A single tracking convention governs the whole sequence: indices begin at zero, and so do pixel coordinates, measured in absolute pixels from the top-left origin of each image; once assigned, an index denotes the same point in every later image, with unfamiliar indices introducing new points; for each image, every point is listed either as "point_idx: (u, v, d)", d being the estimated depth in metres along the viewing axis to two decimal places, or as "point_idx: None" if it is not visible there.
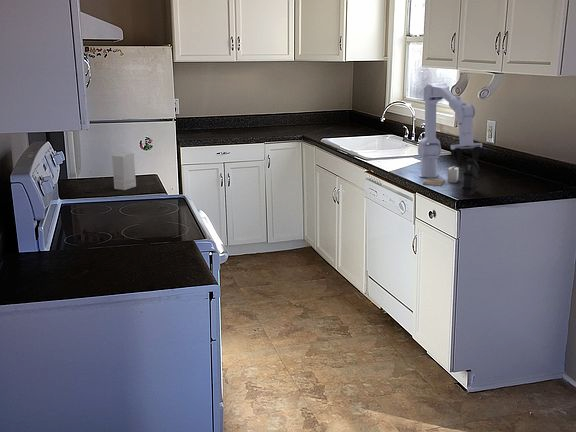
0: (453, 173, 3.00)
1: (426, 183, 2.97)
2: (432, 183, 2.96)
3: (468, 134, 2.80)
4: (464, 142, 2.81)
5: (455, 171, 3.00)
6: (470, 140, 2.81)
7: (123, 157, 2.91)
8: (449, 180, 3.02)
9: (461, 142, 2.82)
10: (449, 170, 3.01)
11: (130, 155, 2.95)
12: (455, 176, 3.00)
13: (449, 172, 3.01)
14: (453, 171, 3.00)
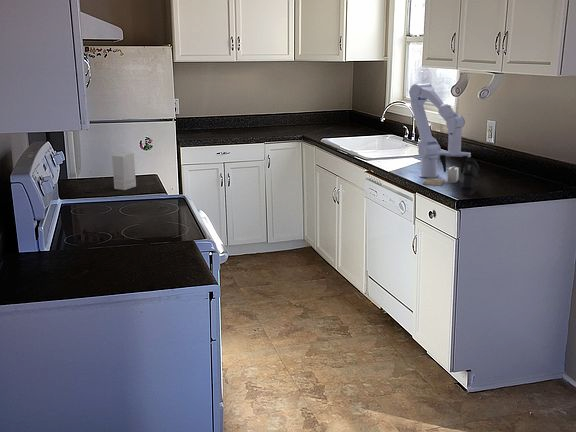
0: (453, 173, 3.00)
1: (426, 183, 2.97)
2: (432, 183, 2.96)
3: (452, 144, 2.98)
4: (448, 151, 3.00)
5: (455, 171, 3.00)
6: (454, 150, 2.98)
7: (123, 157, 2.91)
8: (449, 180, 3.02)
9: None
10: (449, 170, 3.01)
11: (130, 155, 2.95)
12: (455, 176, 3.00)
13: (449, 172, 3.01)
14: (453, 171, 3.00)
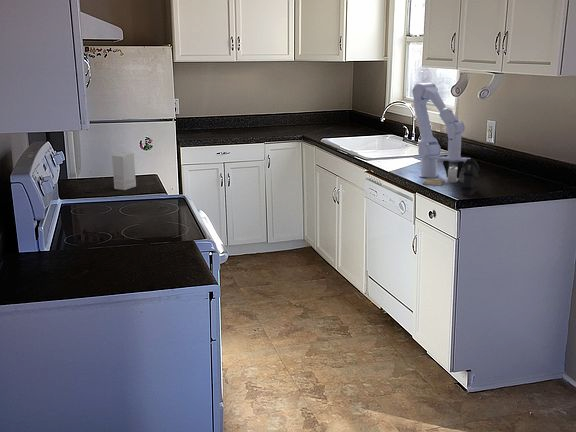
0: (453, 173, 3.00)
1: (426, 183, 2.97)
2: (432, 183, 2.96)
3: (452, 149, 2.98)
4: (448, 156, 3.00)
5: (455, 171, 3.00)
6: (454, 155, 2.98)
7: (123, 157, 2.91)
8: (449, 180, 3.02)
9: None
10: (449, 170, 3.01)
11: (130, 155, 2.95)
12: (455, 176, 3.00)
13: (449, 172, 3.01)
14: (453, 171, 3.00)
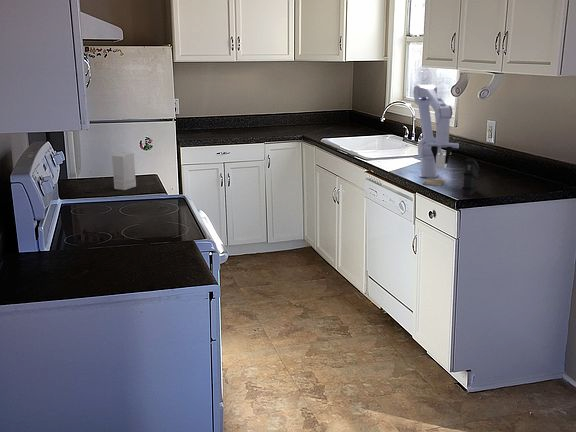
0: (441, 159, 2.95)
1: (426, 183, 2.97)
2: (432, 183, 2.96)
3: (440, 135, 2.93)
4: (436, 142, 2.96)
5: (443, 157, 2.95)
6: (442, 140, 2.94)
7: (123, 157, 2.91)
8: (437, 166, 2.97)
9: (435, 141, 2.97)
10: (437, 156, 2.96)
11: (130, 155, 2.95)
12: (443, 162, 2.95)
13: (437, 158, 2.96)
14: (441, 157, 2.95)
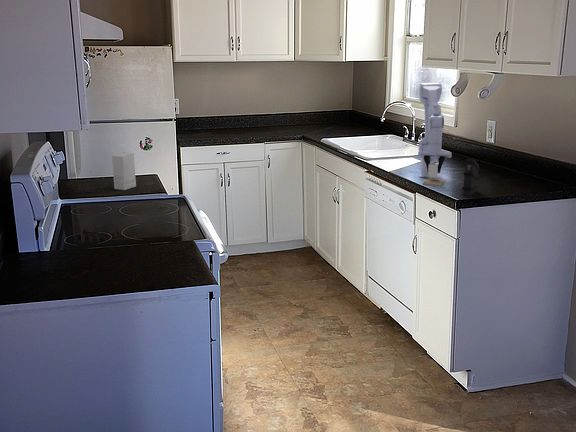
0: (434, 168, 2.95)
1: (426, 183, 2.97)
2: (432, 183, 2.96)
3: (432, 144, 2.93)
4: (429, 151, 2.95)
5: (436, 166, 2.94)
6: (434, 150, 2.93)
7: (123, 157, 2.91)
8: (430, 175, 2.96)
9: (428, 150, 2.96)
10: (430, 165, 2.95)
11: (130, 155, 2.95)
12: (436, 171, 2.95)
13: (429, 168, 2.95)
14: (434, 166, 2.95)
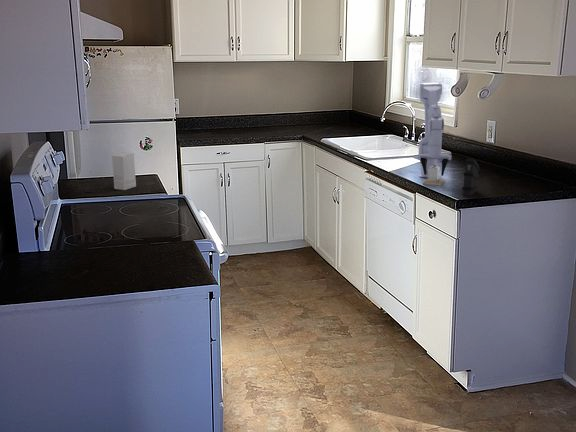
0: (434, 172, 2.95)
1: (426, 183, 2.97)
2: (432, 183, 2.96)
3: (432, 146, 2.93)
4: (429, 153, 2.95)
5: (436, 170, 2.95)
6: (434, 152, 2.93)
7: (123, 157, 2.91)
8: (430, 179, 2.97)
9: (428, 153, 2.97)
10: (429, 169, 2.96)
11: (130, 155, 2.95)
12: (436, 175, 2.95)
13: (429, 171, 2.96)
14: (434, 170, 2.95)
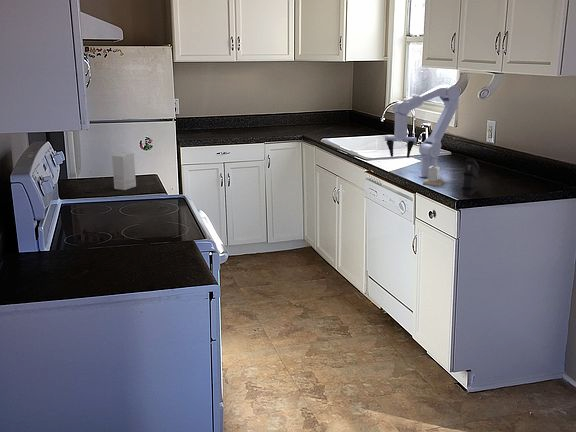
0: (434, 172, 2.95)
1: (426, 183, 2.97)
2: (432, 183, 2.96)
3: (398, 129, 3.03)
4: (395, 136, 3.05)
5: (436, 170, 2.95)
6: (400, 135, 3.03)
7: (123, 157, 2.91)
8: (430, 179, 2.97)
9: (394, 135, 3.06)
10: (429, 169, 2.96)
11: (130, 155, 2.95)
12: (436, 175, 2.95)
13: (429, 171, 2.96)
14: (434, 170, 2.95)
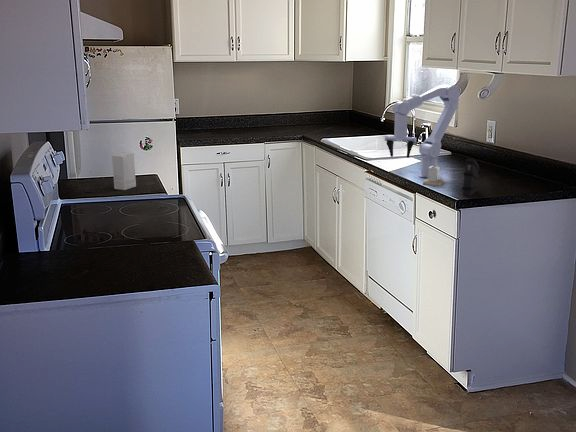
0: (434, 172, 2.95)
1: (426, 183, 2.97)
2: (432, 183, 2.96)
3: (398, 129, 3.03)
4: (395, 136, 3.05)
5: (436, 170, 2.95)
6: (400, 135, 3.03)
7: (123, 157, 2.91)
8: (430, 179, 2.97)
9: (394, 135, 3.07)
10: (429, 169, 2.96)
11: (130, 155, 2.95)
12: (436, 175, 2.95)
13: (429, 171, 2.96)
14: (434, 170, 2.95)
